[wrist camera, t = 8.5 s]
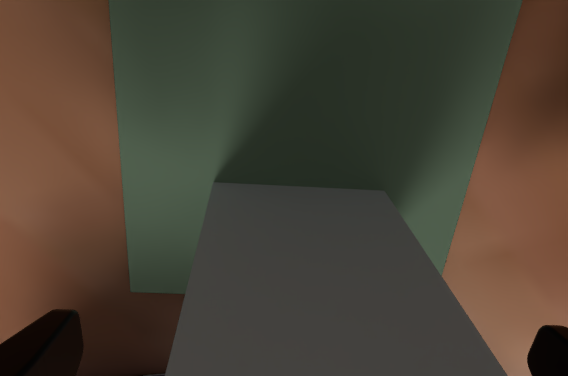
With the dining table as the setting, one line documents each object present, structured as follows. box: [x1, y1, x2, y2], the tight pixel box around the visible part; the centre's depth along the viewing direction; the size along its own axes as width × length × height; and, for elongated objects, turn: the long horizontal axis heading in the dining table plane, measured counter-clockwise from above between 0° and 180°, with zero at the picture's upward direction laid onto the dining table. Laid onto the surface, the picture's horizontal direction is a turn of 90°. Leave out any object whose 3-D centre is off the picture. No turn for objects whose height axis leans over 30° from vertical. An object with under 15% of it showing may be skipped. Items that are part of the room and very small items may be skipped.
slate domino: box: [165, 182, 507, 376], centre depth 9 cm, size 5×2×8 cm, turn 85°
